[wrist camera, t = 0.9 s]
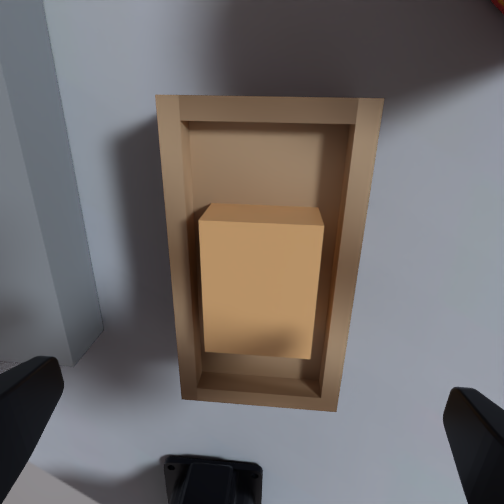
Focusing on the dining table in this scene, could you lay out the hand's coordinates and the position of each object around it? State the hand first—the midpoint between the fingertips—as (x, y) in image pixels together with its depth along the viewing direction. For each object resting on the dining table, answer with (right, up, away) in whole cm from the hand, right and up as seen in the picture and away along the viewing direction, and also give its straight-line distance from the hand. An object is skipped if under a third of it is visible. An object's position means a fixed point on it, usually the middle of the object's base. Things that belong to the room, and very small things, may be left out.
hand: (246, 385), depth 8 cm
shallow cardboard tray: (+1, +4, +9) cm, 9 cm away
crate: (+1, +2, +5) cm, 6 cm away
